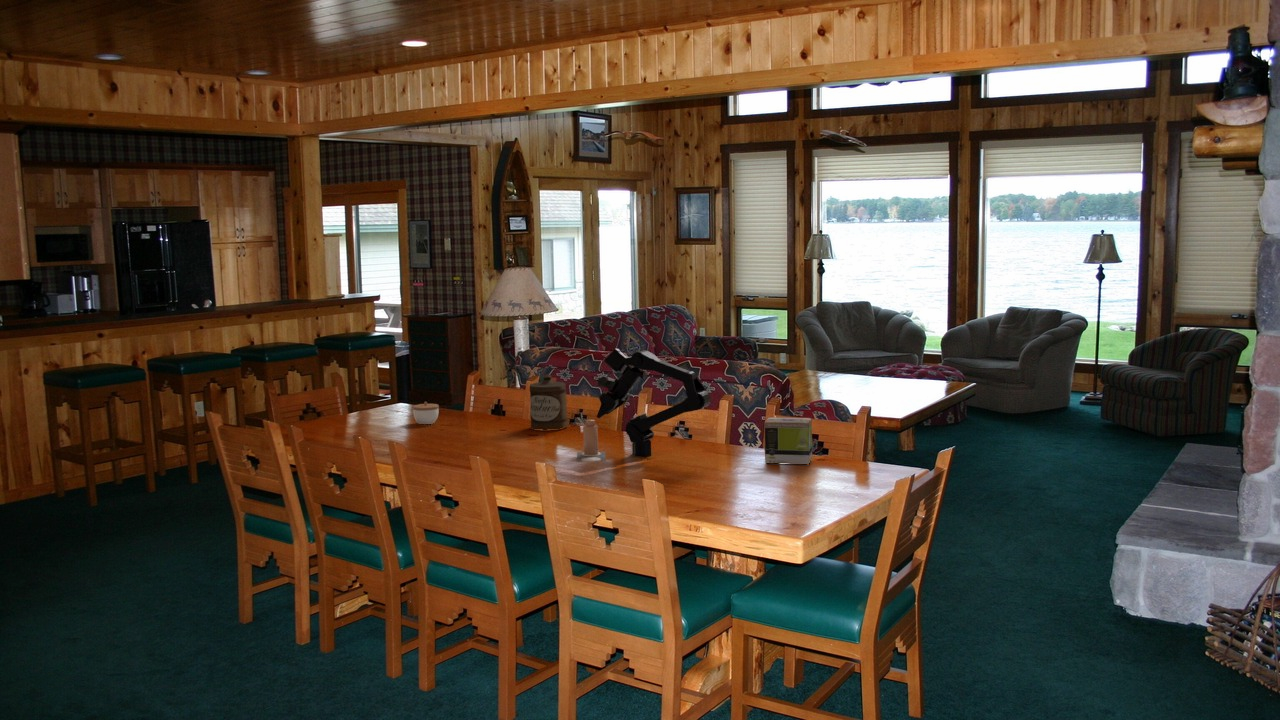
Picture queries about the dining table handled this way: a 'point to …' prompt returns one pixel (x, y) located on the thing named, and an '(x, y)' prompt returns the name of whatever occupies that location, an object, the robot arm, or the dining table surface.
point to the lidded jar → (426, 413)
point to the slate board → (591, 457)
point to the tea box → (788, 440)
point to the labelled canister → (548, 404)
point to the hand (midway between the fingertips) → (601, 415)
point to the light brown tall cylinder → (590, 437)
